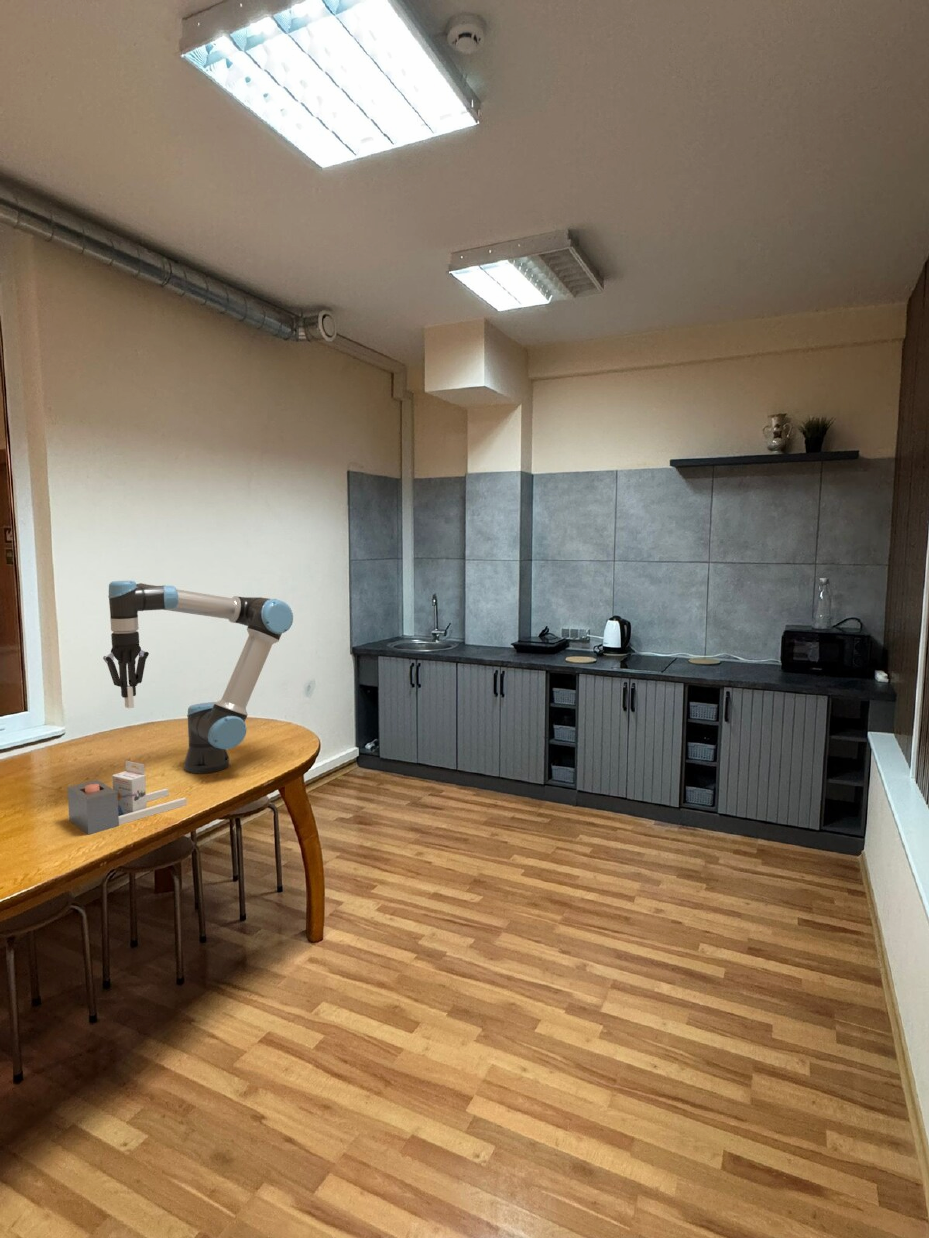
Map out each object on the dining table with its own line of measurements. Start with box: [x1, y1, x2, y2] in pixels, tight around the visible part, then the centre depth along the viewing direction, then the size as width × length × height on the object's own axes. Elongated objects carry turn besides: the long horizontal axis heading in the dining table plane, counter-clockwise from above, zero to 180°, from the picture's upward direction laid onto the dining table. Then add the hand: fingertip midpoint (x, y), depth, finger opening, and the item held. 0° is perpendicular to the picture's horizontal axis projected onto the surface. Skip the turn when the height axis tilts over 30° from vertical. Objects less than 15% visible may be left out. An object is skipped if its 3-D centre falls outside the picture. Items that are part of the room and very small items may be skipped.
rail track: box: [119, 788, 188, 826], centre depth 200 cm, size 20×13×2 cm, turn 139°
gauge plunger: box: [85, 784, 100, 794], centre depth 189 cm, size 4×4×5 cm
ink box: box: [111, 760, 148, 816], centre depth 196 cm, size 8×5×15 cm, turn 65°
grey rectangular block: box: [67, 779, 120, 836], centre depth 189 cm, size 8×14×10 cm, turn 49°
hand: (129, 707), depth 206 cm, fingers closed
